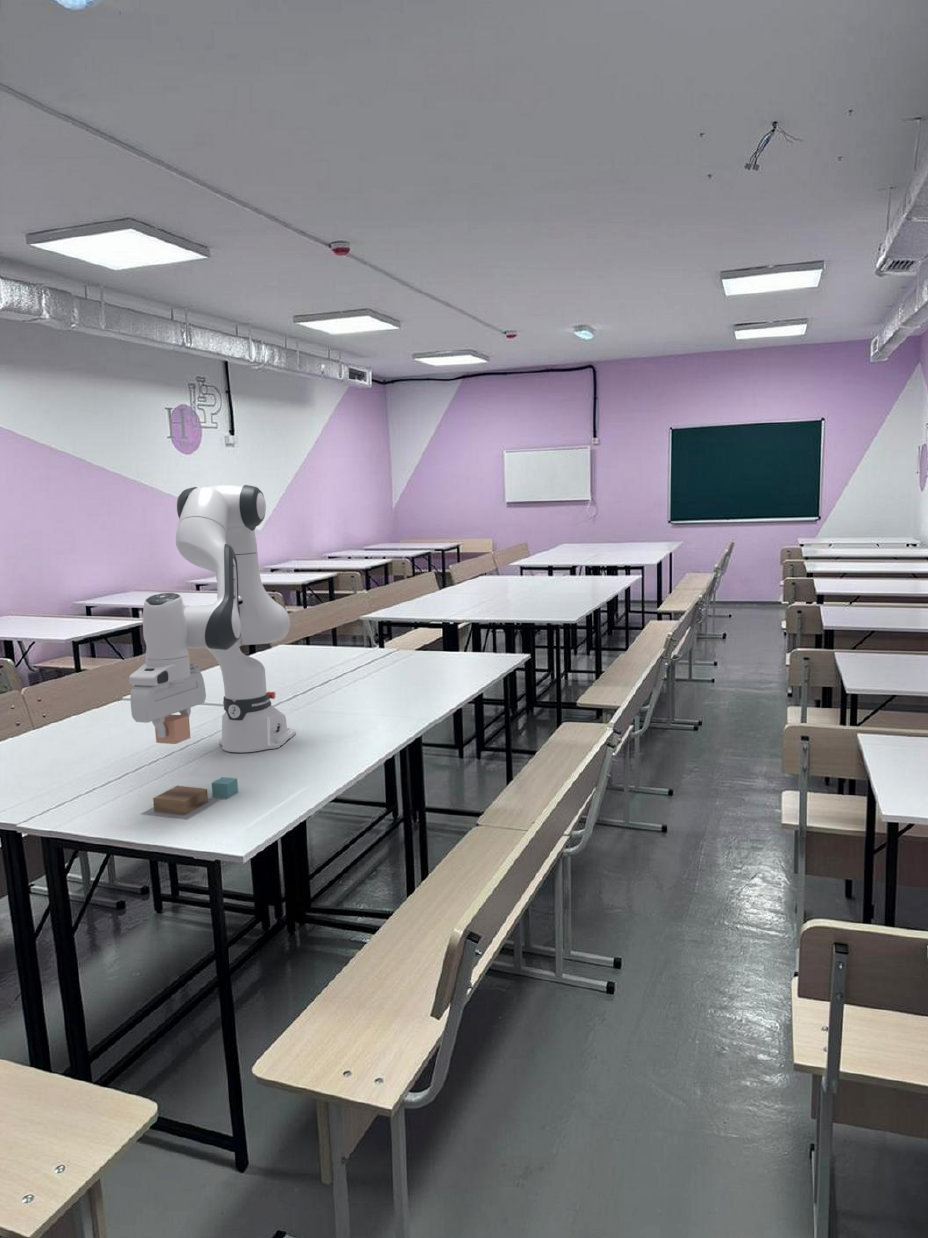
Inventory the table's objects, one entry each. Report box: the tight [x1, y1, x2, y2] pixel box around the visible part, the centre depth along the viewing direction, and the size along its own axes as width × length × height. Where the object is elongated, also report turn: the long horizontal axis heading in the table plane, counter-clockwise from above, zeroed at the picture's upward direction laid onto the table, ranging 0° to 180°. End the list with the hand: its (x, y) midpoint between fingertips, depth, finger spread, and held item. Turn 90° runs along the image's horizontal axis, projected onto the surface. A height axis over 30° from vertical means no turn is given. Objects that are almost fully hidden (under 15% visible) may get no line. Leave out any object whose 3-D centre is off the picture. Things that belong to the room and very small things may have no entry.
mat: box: [140, 797, 222, 820], centre depth 183 cm, size 12×12×1 cm
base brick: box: [152, 785, 209, 815], centre depth 183 cm, size 8×8×3 cm
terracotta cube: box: [154, 714, 192, 745], centre depth 181 cm, size 5×5×5 cm
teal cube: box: [211, 776, 239, 799], centre depth 190 cm, size 4×4×4 cm
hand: (173, 733), depth 181 cm, fingers closed on terracotta cube, 5 cm apart
